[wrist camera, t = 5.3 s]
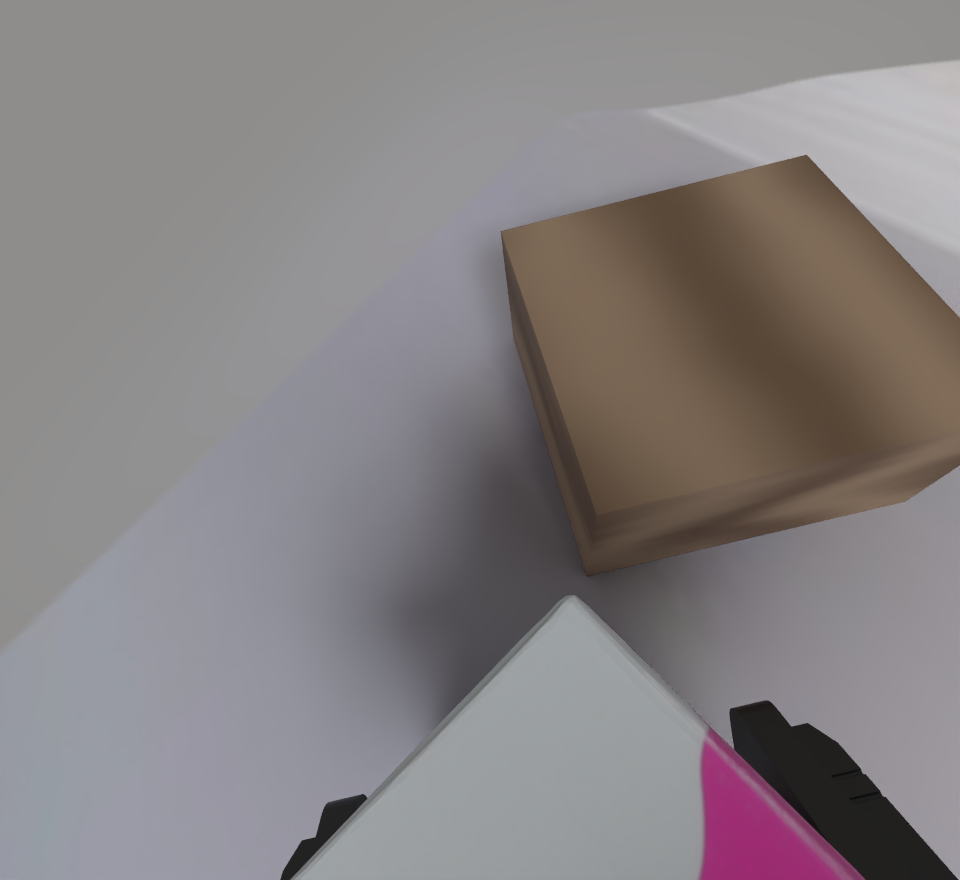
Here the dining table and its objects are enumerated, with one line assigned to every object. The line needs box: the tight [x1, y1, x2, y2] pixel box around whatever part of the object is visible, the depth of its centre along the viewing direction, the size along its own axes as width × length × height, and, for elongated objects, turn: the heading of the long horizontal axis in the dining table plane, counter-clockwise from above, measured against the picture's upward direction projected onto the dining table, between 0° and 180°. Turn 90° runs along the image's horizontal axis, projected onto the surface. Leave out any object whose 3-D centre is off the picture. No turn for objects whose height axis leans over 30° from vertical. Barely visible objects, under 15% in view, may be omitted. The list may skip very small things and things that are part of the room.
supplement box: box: [290, 595, 866, 880], centre depth 9 cm, size 6×6×12 cm
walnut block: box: [501, 155, 960, 576], centre depth 18 cm, size 11×11×6 cm
